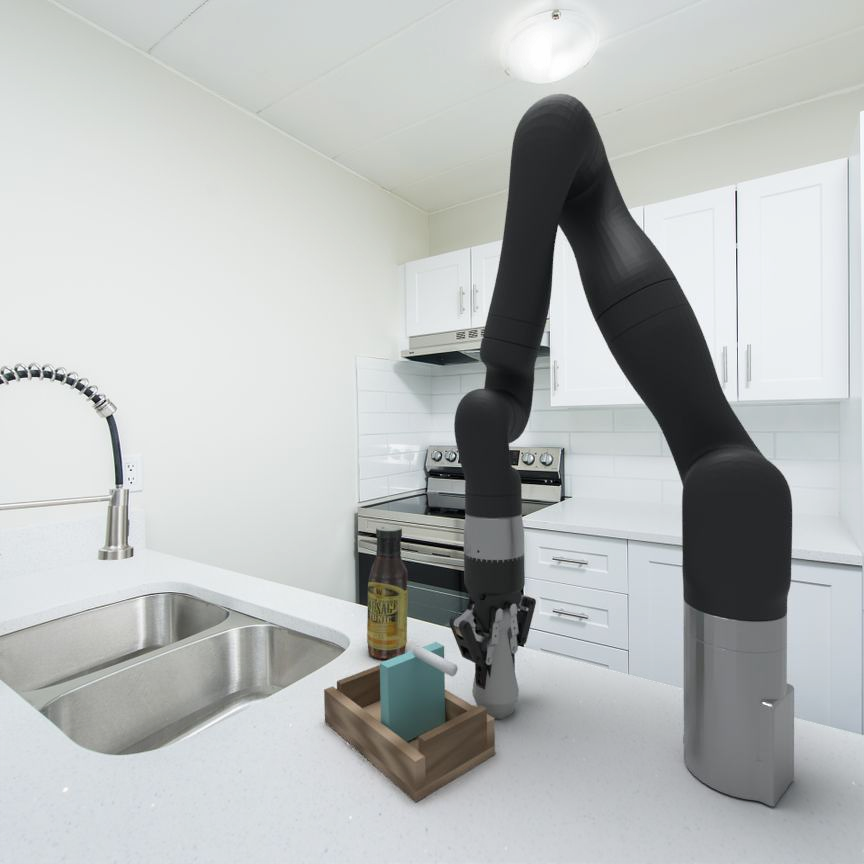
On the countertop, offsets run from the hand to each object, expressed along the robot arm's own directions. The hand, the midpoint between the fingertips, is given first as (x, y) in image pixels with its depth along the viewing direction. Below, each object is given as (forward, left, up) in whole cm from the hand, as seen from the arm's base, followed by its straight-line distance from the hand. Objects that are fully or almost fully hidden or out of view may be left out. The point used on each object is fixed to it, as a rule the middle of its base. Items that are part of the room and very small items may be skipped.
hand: (495, 685), depth 67 cm
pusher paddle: (-2, +12, -2) cm, 12 cm away
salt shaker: (0, 0, -3) cm, 3 cm away
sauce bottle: (+22, +1, -3) cm, 23 cm away
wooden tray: (+3, +12, -3) cm, 13 cm away
